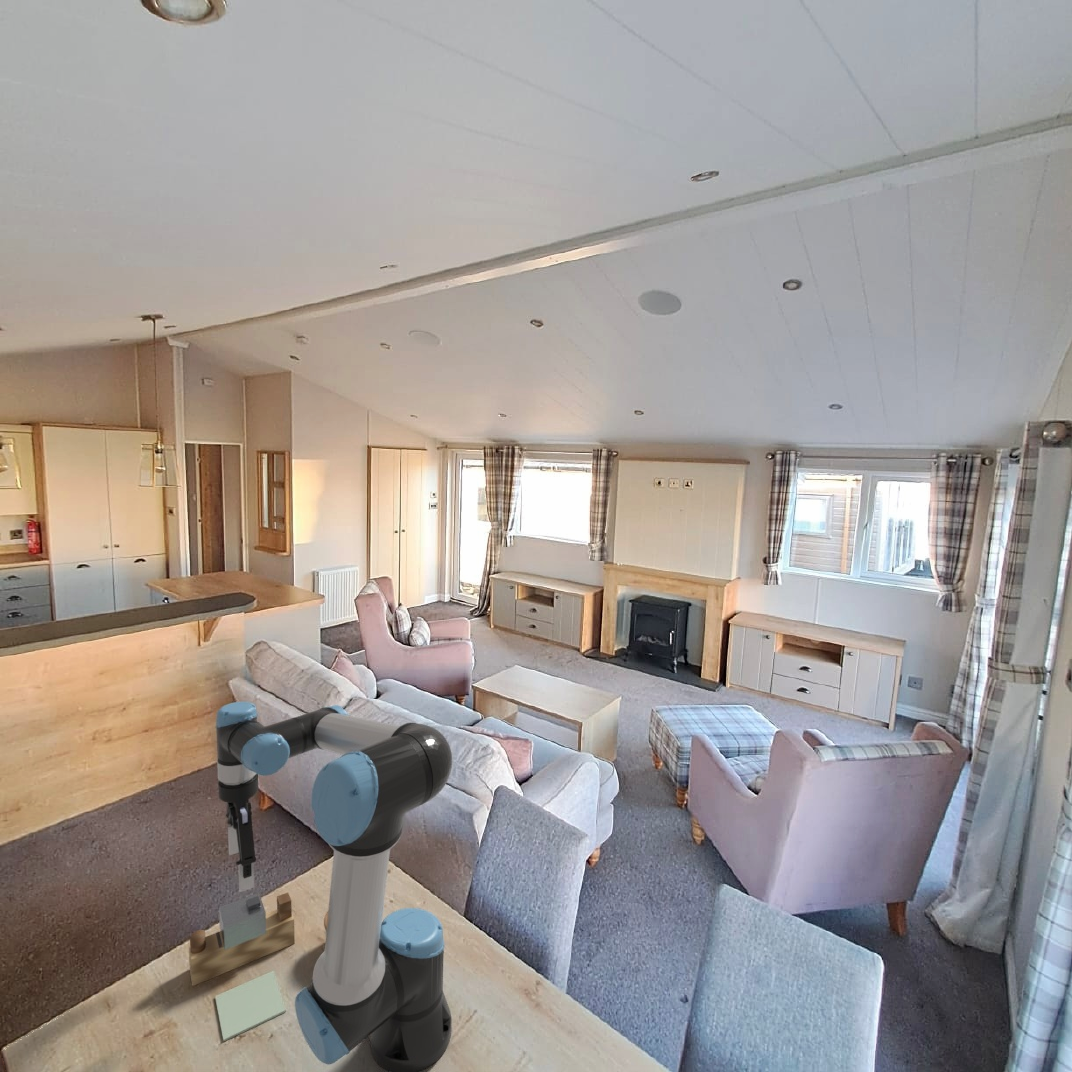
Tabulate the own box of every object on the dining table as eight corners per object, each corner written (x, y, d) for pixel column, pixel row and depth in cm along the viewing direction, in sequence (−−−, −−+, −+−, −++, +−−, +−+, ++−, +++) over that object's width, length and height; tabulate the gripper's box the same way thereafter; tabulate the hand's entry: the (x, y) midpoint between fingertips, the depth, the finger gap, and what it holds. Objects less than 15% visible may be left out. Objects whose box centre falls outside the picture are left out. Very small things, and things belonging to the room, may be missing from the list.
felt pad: (286, 1011, 117) (286, 1009, 117) (223, 1041, 110) (223, 1039, 110) (273, 972, 126) (273, 970, 126) (215, 997, 119) (215, 996, 119)
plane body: (289, 929, 137) (288, 889, 136) (294, 943, 133) (293, 902, 132) (189, 969, 126) (187, 926, 125) (192, 986, 122) (190, 941, 121)
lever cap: (266, 933, 128) (265, 908, 128) (224, 949, 124) (223, 923, 123) (259, 913, 134) (259, 888, 133) (219, 928, 129) (218, 902, 129)
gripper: (270, 799, 117) (272, 898, 119) (247, 748, 137) (249, 833, 140) (227, 811, 112) (230, 913, 115) (210, 756, 133) (213, 844, 135)
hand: (241, 870), depth 127 cm, fingers open, 13 cm apart
